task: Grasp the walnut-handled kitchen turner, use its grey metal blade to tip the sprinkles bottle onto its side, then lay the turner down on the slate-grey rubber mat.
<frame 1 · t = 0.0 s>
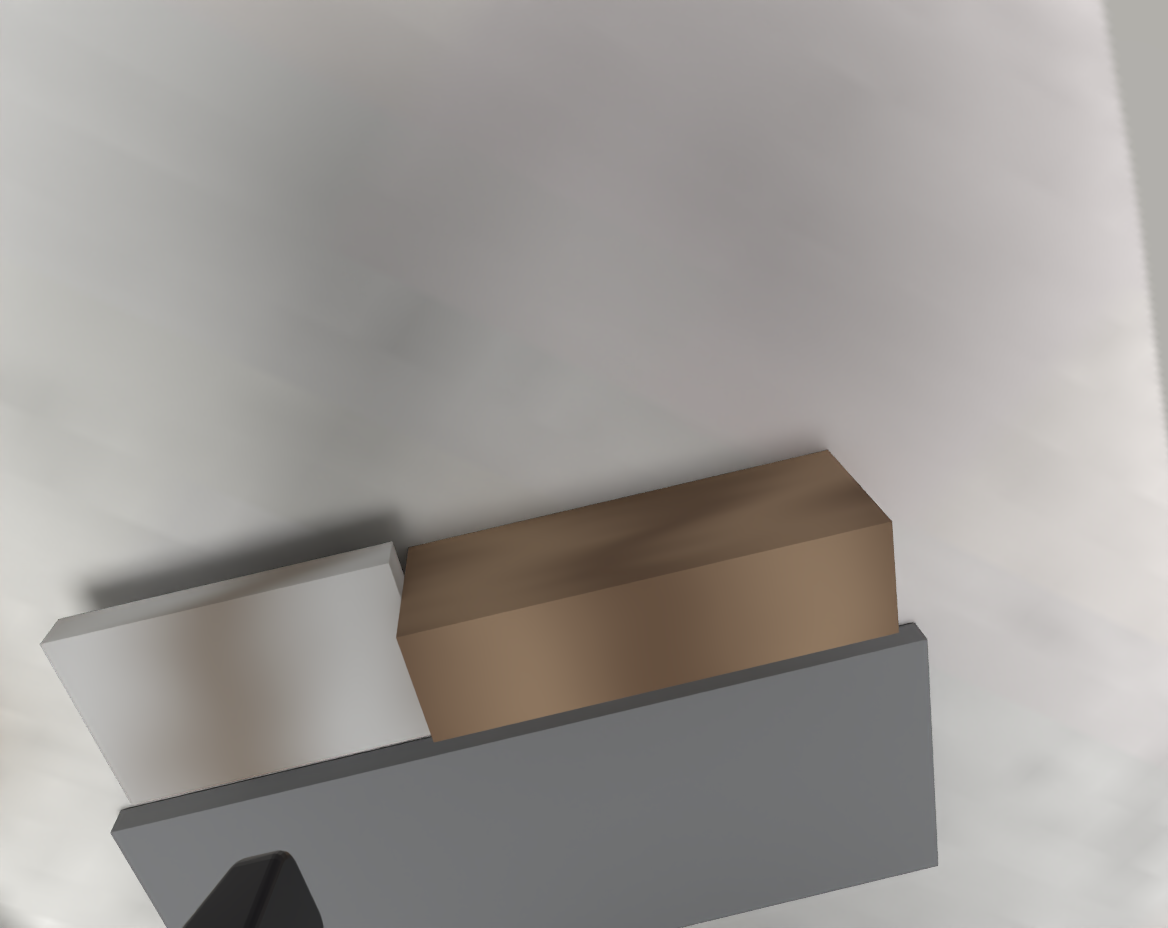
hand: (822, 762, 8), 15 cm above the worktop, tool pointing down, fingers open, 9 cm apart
tool mat: (554, 829, 27), on the worktop
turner: (424, 594, 24), on the worktop
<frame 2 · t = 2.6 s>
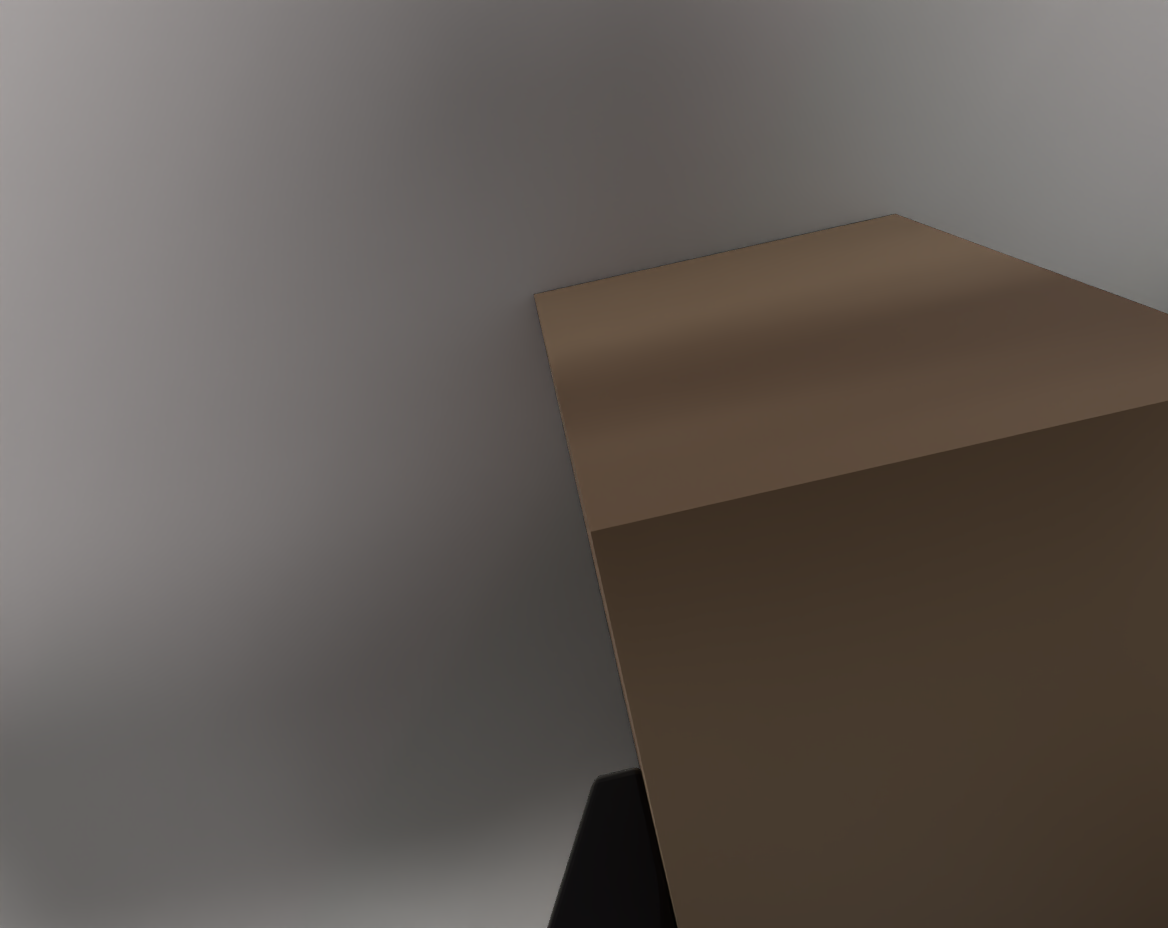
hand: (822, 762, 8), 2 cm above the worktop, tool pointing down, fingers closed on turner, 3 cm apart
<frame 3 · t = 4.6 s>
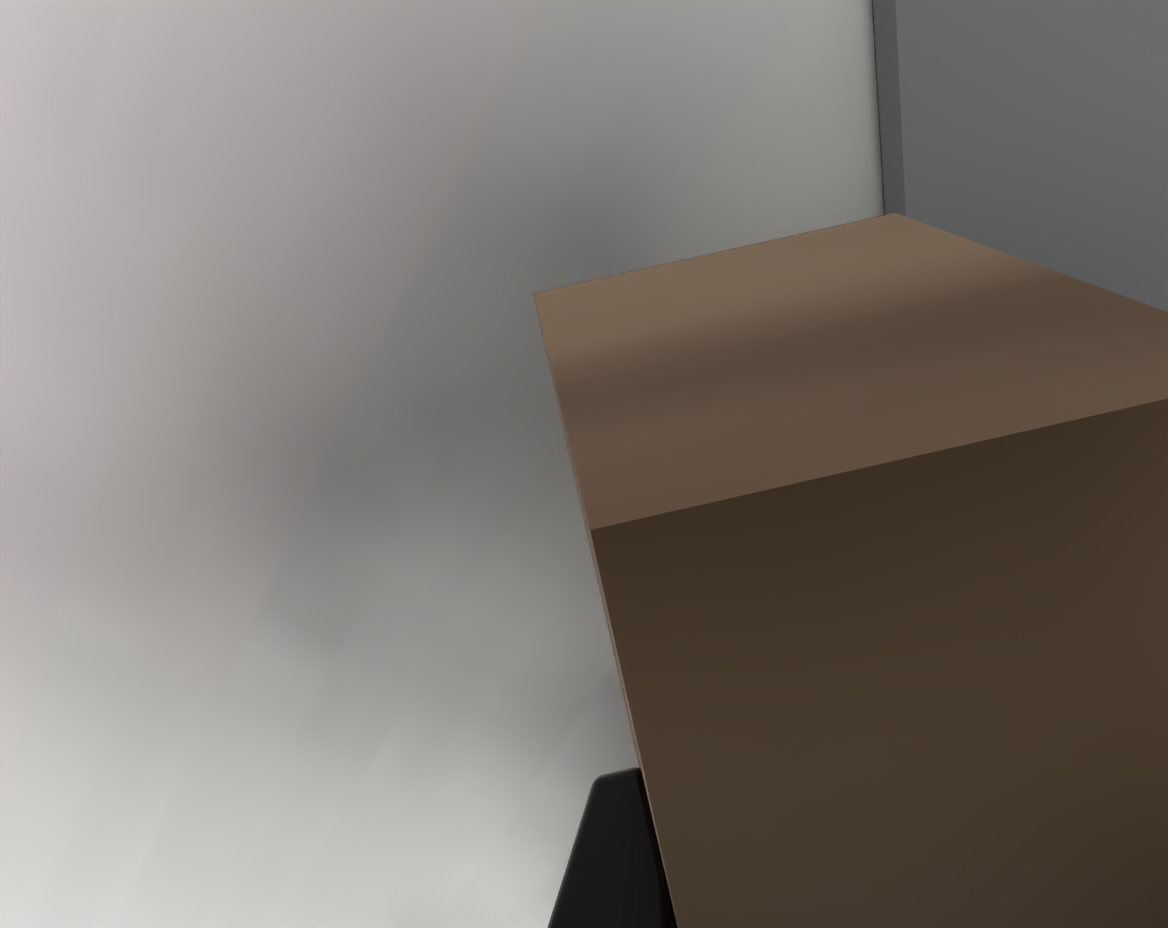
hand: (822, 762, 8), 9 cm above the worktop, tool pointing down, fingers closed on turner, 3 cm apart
tool mat: (1129, 436, 17), on the worktop
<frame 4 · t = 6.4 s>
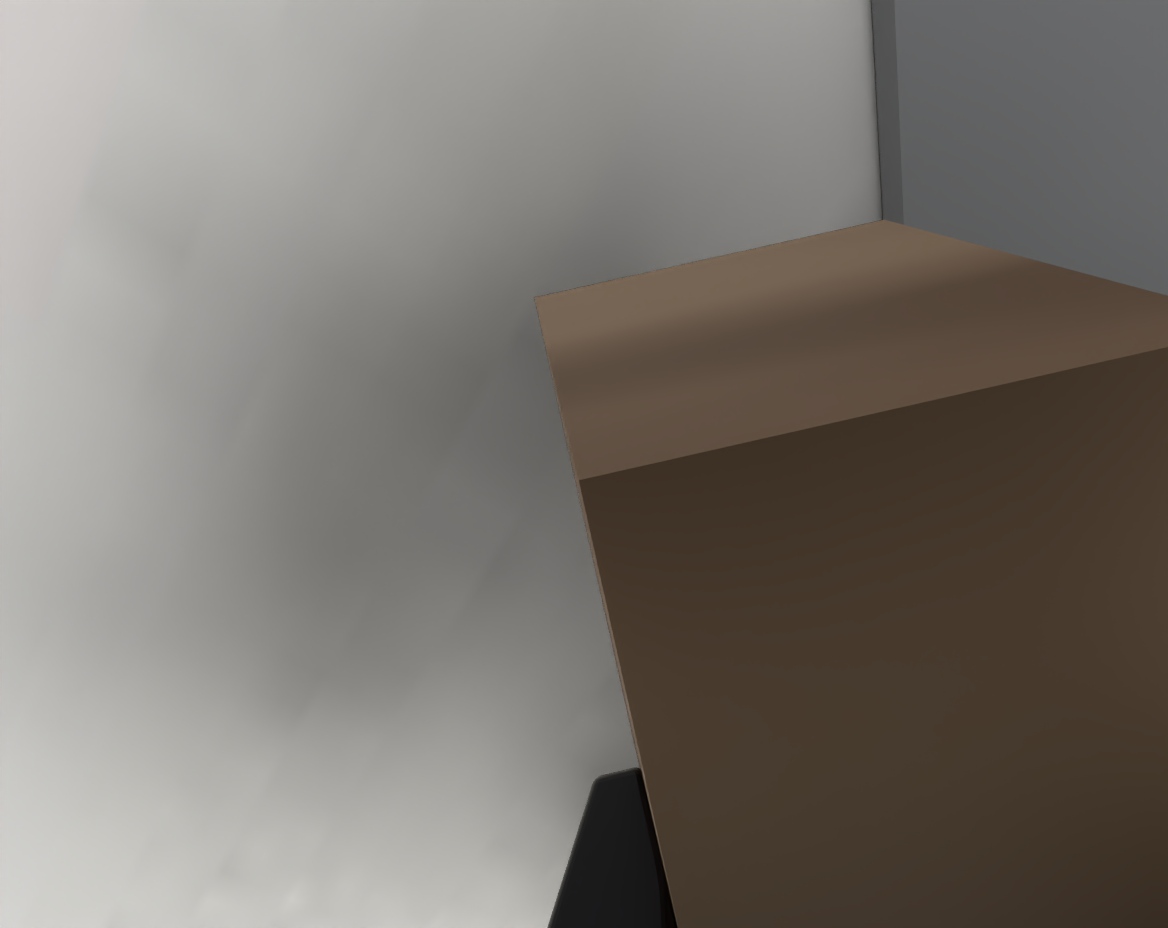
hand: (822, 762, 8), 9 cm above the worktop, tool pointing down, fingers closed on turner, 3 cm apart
tool mat: (1155, 11, 14), on the worktop
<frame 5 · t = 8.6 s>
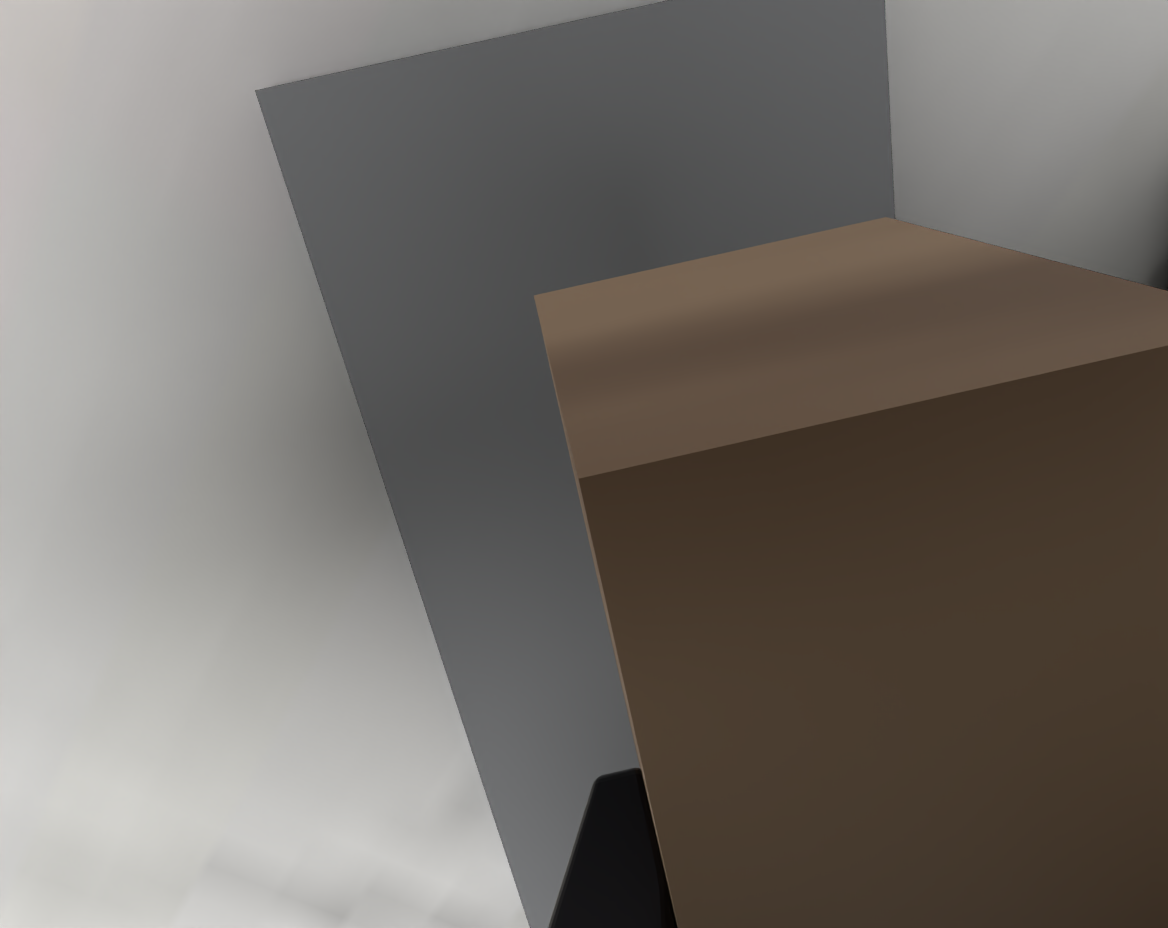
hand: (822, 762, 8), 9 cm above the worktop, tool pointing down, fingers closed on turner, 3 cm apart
tool mat: (680, 645, 18), on the worktop
when the fingers open (3 cm above the worktop, at t = 10.2 s): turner drops 1 cm, resting on tool mat.
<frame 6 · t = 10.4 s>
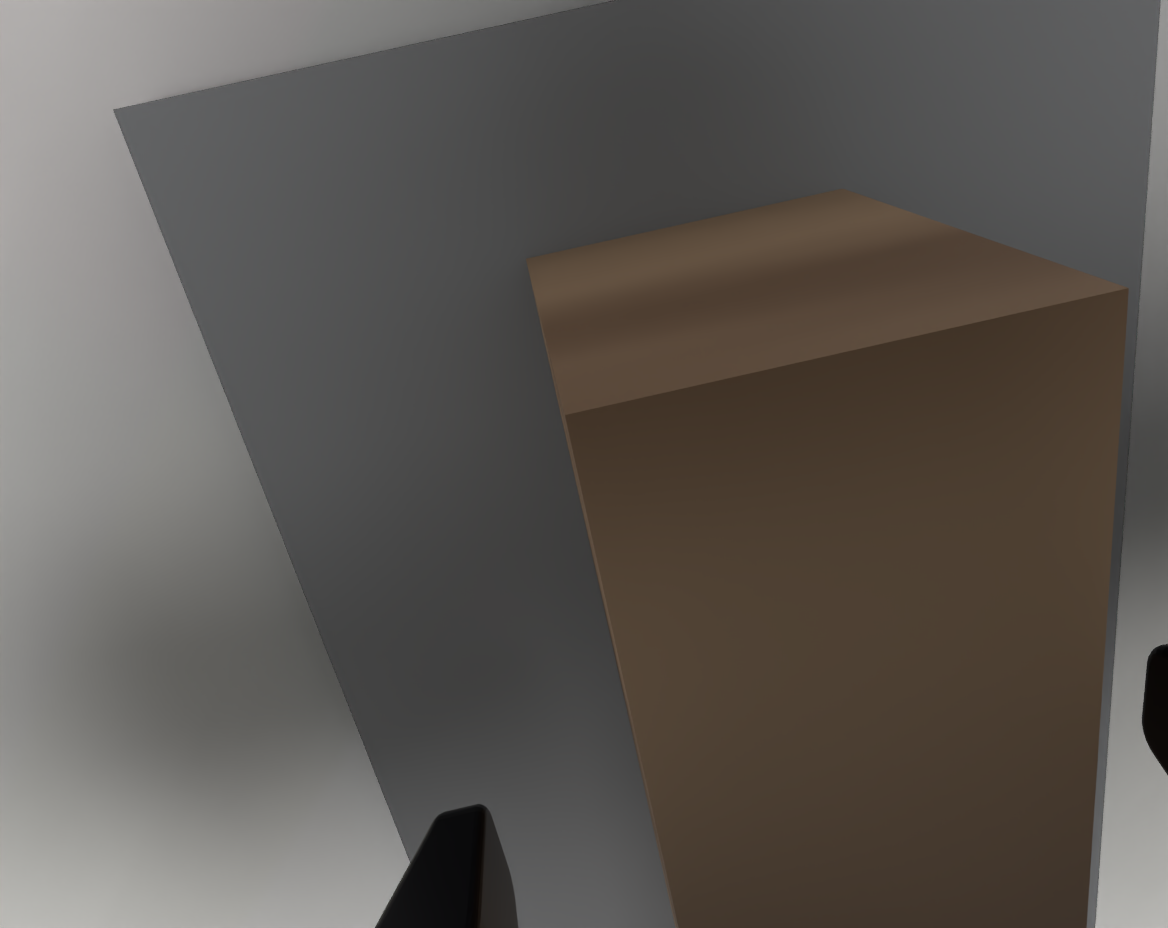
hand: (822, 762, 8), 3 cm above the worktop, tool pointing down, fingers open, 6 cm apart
tool mat: (767, 873, 13), on the worktop
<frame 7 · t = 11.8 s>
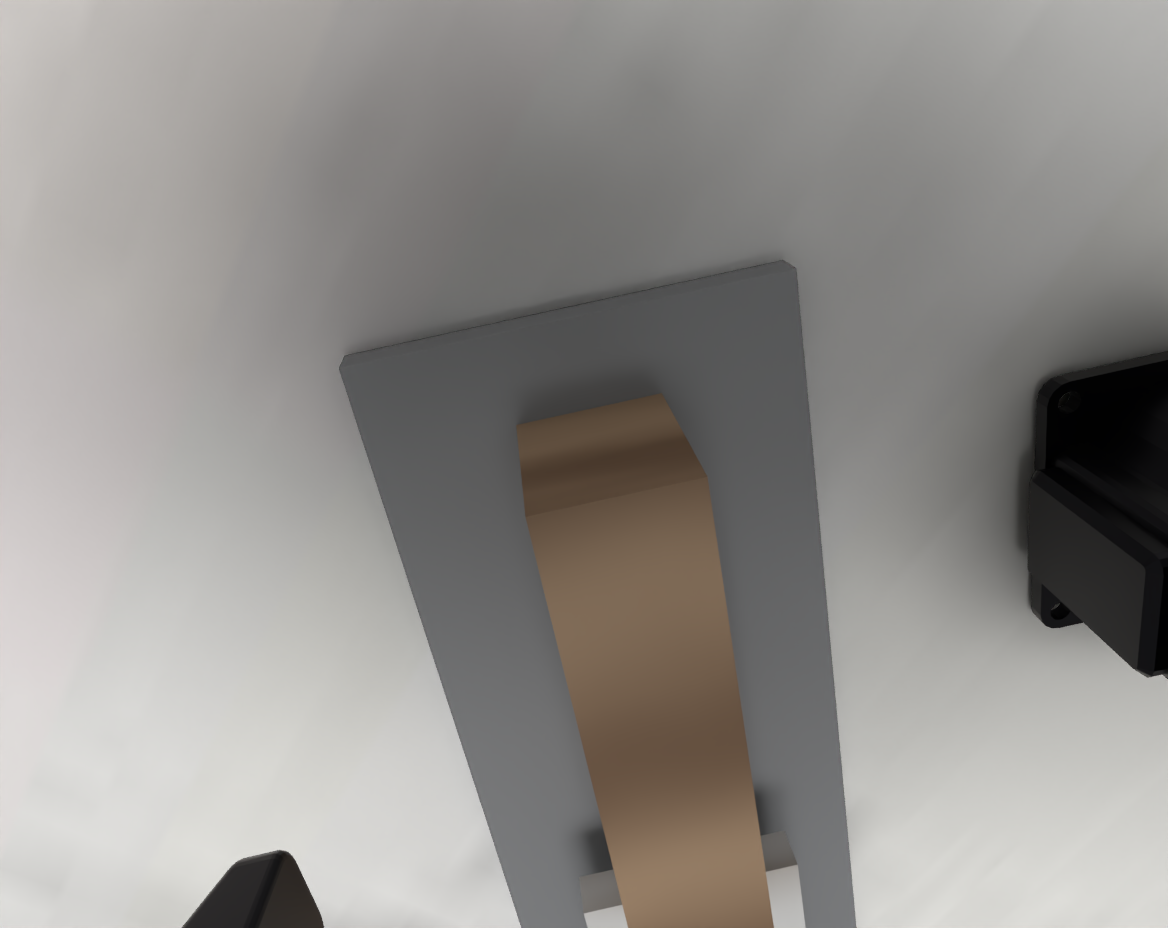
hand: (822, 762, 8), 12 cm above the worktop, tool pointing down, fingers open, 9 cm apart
tool mat: (654, 742, 23), on the worktop
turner: (669, 806, 23), point 1 cm above the worktop, touching tool mat
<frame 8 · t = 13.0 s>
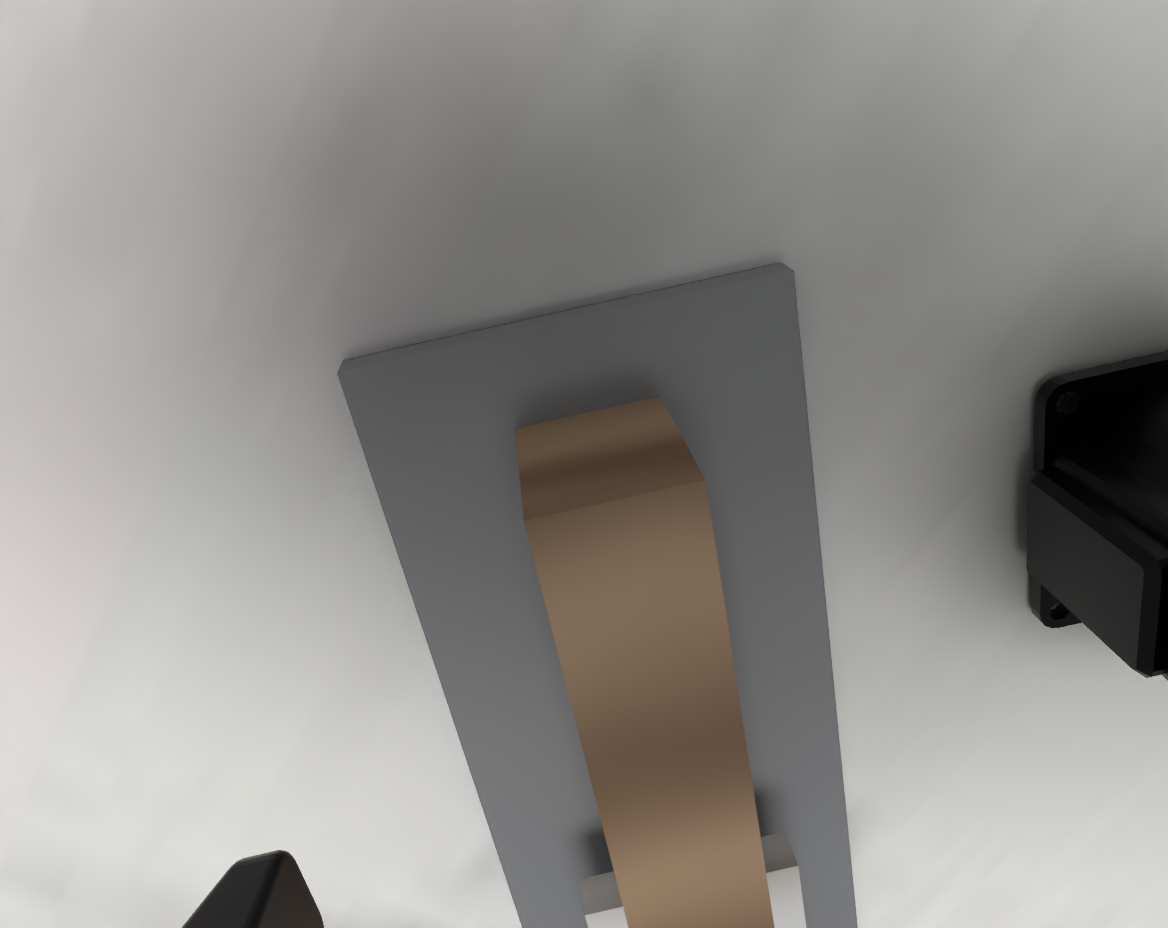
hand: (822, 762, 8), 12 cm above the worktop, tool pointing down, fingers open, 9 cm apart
tool mat: (654, 743, 23), on the worktop
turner: (670, 807, 23), point 1 cm above the worktop, touching tool mat
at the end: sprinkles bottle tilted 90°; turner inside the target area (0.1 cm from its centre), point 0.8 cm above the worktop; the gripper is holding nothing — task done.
